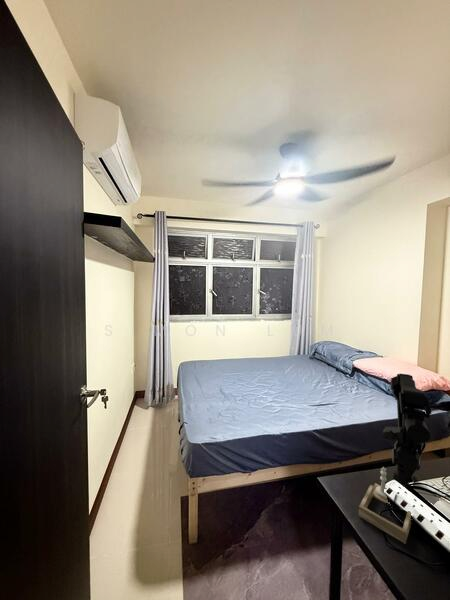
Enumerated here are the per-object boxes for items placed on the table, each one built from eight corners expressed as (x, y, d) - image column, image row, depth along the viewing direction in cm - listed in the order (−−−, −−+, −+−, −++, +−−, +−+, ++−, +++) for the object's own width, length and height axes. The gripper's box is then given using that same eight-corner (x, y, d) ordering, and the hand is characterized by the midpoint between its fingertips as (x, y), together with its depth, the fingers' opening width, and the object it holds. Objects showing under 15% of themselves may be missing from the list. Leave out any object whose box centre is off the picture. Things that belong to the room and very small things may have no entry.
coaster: (375, 484, 98) (375, 482, 98) (396, 494, 93) (396, 493, 93) (369, 495, 93) (369, 493, 93) (391, 506, 88) (391, 505, 88)
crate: (370, 493, 94) (370, 484, 94) (413, 515, 85) (413, 505, 85) (358, 516, 85) (358, 506, 85) (405, 543, 76) (405, 532, 75)
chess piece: (393, 499, 90) (394, 473, 90) (378, 497, 91) (379, 471, 91) (387, 488, 95) (387, 463, 95) (373, 487, 96) (373, 462, 96)
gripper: (391, 409, 100) (390, 447, 100) (378, 428, 87) (377, 471, 87) (427, 419, 92) (426, 460, 93) (419, 442, 79) (417, 490, 79)
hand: (411, 469), depth 88 cm, fingers open, 9 cm apart
